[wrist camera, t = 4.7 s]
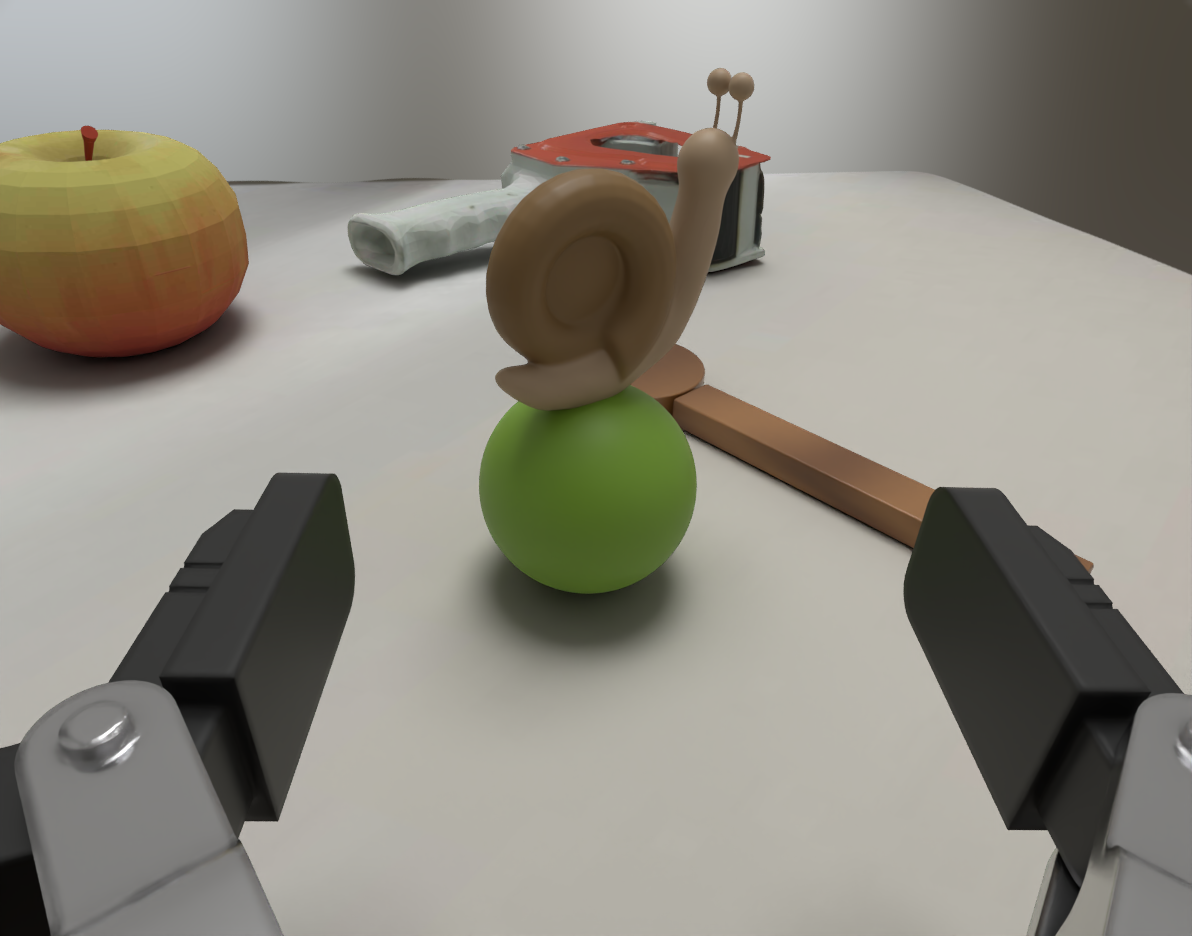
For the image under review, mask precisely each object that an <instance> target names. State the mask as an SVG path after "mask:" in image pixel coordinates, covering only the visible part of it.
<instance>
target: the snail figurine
mask: <svg viewBox="0 0 1192 936" xmlns="http://www.w3.org/2000/svg"><path fill="white" fill-rule="evenodd" d="M707 86H708V89H709V91H710V92H711V93H712V94H714V95H716V96H717V107H716V115H715V121H714V125H713V128H705V129H702V130H699V131H697V132H695V133H694V134H692V135H691V136H690V137H689V138H688V139H687V140H686V142H685V143H684V144H683V146H682V148H681V150H680V152H679V155H678V159H677V172H678V179H679V190H678V195H677V199H676V203H675V206H674V210H673V213H672V216H671V220H670V223H669V222H668V220H667V217H666V214H665V213H664V211H663V209H662V208H661V206H660V205H659V203H658V202H657V200H656V199H655V197H654V196H652V195H651V194H650V193H649V192H648V191H647V190H646V189H645V188H644V187H643V186H642V185H640V184H639V183H638V182H637V181H635V180H633V179H631V178H629V177H628V176H626V175H624V174H622V173H620V172H616V171H611V170H607V169H601V168H592V169H576V170H572V171H569V172H565V173H562V174H559V175H556V176H554V177H553V178H551V179H549V180H547V181H545V182H543V183H542V184H540V185H539V186H537V187H536V188H535V189H534V190H532V191H531V192H530V193H529V194H528V195H526V196H525V197H524V198H523V199H522V200H521V201H520V202H519V204H518V205H517V206H516V207H515V208H514V210H513V211H512V212H511V213H510V215H509V216H508V218H507V219H506V221H505V223H504V224H503V226H502V228H501V230H500V231H499V233H498V235H497V238H496V240H495V243H494V246H493V248H492V251H491V254H490V258H489V263H488V269H487V275H486V297H487V303H488V309H489V313H490V316H491V319H492V321H493V323H494V326H495V328H496V330H497V332H498V333H499V334H500V336H501V337H502V338H503V340H504V341H505V342H506V343H507V344H508V345H509V346H511V347H512V348H513V349H514V350H515V351H517V352H518V353H519V354H521V355H522V356H524V357H525V358H526V359H527V360H528V363H527V364H525V365H519V366H511V367H507V368H504V369H502V370H500V371H499V372H498V373H497V374H496V376H495V380H496V383H497V384H498V386H499V387H500V388H501V389H502V390H503V391H505V392H506V393H507V394H509V395H510V396H511V397H513V398H514V399H516V400H518V402H517V403H516V404H515V405H514V406H512V407H511V408H510V409H509V411H508V412H507V413H506V414H505V415H504V416H503V417H502V419H501V420H500V421H499V423H498V424H497V426H496V427H495V429H494V431H493V433H492V434H491V436H490V438H489V441H488V443H487V445H486V448H485V451H484V454H483V458H482V462H481V467H480V476H479V494H480V502H481V508H482V512H483V516H484V519H485V522H486V524H487V527H488V529H489V531H490V533H491V535H492V537H493V539H494V541H495V542H496V544H497V545H498V547H499V548H500V550H501V551H502V552H503V554H504V555H505V556H506V557H507V558H508V559H509V560H510V561H511V562H512V563H513V564H514V565H515V566H516V567H517V568H518V569H519V570H521V571H522V572H523V573H525V574H526V575H528V576H529V577H531V578H532V579H534V580H536V581H538V582H540V583H542V584H544V585H547V586H549V587H552V588H555V589H558V590H562V591H566V592H572V593H581V594H594V593H604V592H609V591H614V590H618V589H621V588H624V587H627V586H629V585H631V584H634V583H636V582H638V581H640V580H641V579H643V578H645V577H646V576H648V575H649V574H651V573H652V572H654V571H655V570H656V569H657V568H659V567H660V566H661V565H662V564H663V563H664V562H665V561H666V560H667V559H668V558H669V557H670V556H671V554H672V553H673V552H674V551H675V549H676V548H677V546H678V545H679V543H680V542H681V540H682V538H683V537H684V535H685V533H686V531H687V528H688V526H689V523H690V521H691V518H692V514H693V511H694V506H695V500H696V488H697V481H696V470H695V464H694V459H693V455H692V452H691V449H690V446H689V444H688V441H687V439H686V437H685V435H684V433H683V431H682V430H681V428H680V426H679V425H678V423H677V422H676V421H675V419H674V418H673V417H672V415H671V414H670V413H669V412H668V411H667V410H666V409H665V408H664V407H663V406H662V405H661V404H660V403H659V402H658V401H656V400H655V399H654V398H653V397H651V396H650V395H648V394H647V393H645V392H643V391H641V390H640V389H638V388H636V387H634V386H632V385H630V384H632V383H633V382H634V381H635V380H636V379H637V378H639V377H640V376H641V375H642V374H643V373H644V372H646V371H647V370H648V369H649V368H651V367H652V366H653V365H654V364H656V363H657V362H658V361H659V360H660V359H662V358H663V357H664V356H665V355H666V354H667V353H668V352H669V351H670V350H671V348H672V347H673V346H674V345H675V343H676V342H677V341H678V339H679V338H680V336H681V334H682V332H683V331H684V329H685V327H686V325H687V323H688V321H689V318H690V316H691V314H692V312H693V310H694V308H695V306H696V303H697V301H698V298H699V296H700V293H701V290H702V287H703V285H704V282H705V279H706V276H707V273H708V270H709V267H710V264H711V260H712V257H713V253H714V250H715V246H716V242H717V238H718V234H719V229H720V224H721V217H722V210H723V204H724V200H725V197H726V194H727V191H728V189H729V187H730V185H731V183H732V181H733V179H734V177H735V175H736V173H737V170H738V164H739V153H738V149H737V146H736V139H737V135H738V130H739V125H740V119H741V112H742V104H743V101H744V100H746V99H748V98H749V97H750V96H751V95H752V93H753V91H754V81H753V79H752V77H751V76H750V75H748V74H747V73H744V72H743V73H738V74H736V75H734V77H731V75H730V73H729V72H728V71H727V70H726V69H723V68H718V69H715V70H713V71H712V72H711V73H710V75H709V77H708V80H707ZM728 91H729V93H730V95H731V96H732V97H733V98H734V99H736V100H738V102H739V109H738V117H737V122H736V127H735V131H734V134H733V137H730V136H729V135H728V134H727V133H726V132H724V131H722V130H720V129H717V124H718V118H719V111H720V101H721V96H722V95H724V94H726V93H727V92H728Z"/></svg>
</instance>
